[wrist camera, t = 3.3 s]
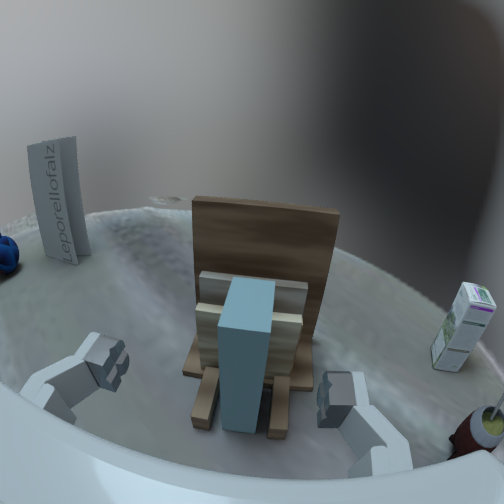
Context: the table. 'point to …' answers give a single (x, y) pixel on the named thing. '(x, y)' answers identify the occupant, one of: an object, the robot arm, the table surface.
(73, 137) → the brochure
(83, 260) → the table surface
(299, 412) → the table surface
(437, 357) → the syrup box
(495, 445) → the mate gourd
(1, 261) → the bomb
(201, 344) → the offcut stack
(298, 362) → the offcut rack
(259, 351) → the light blue tall block
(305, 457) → the table surface
